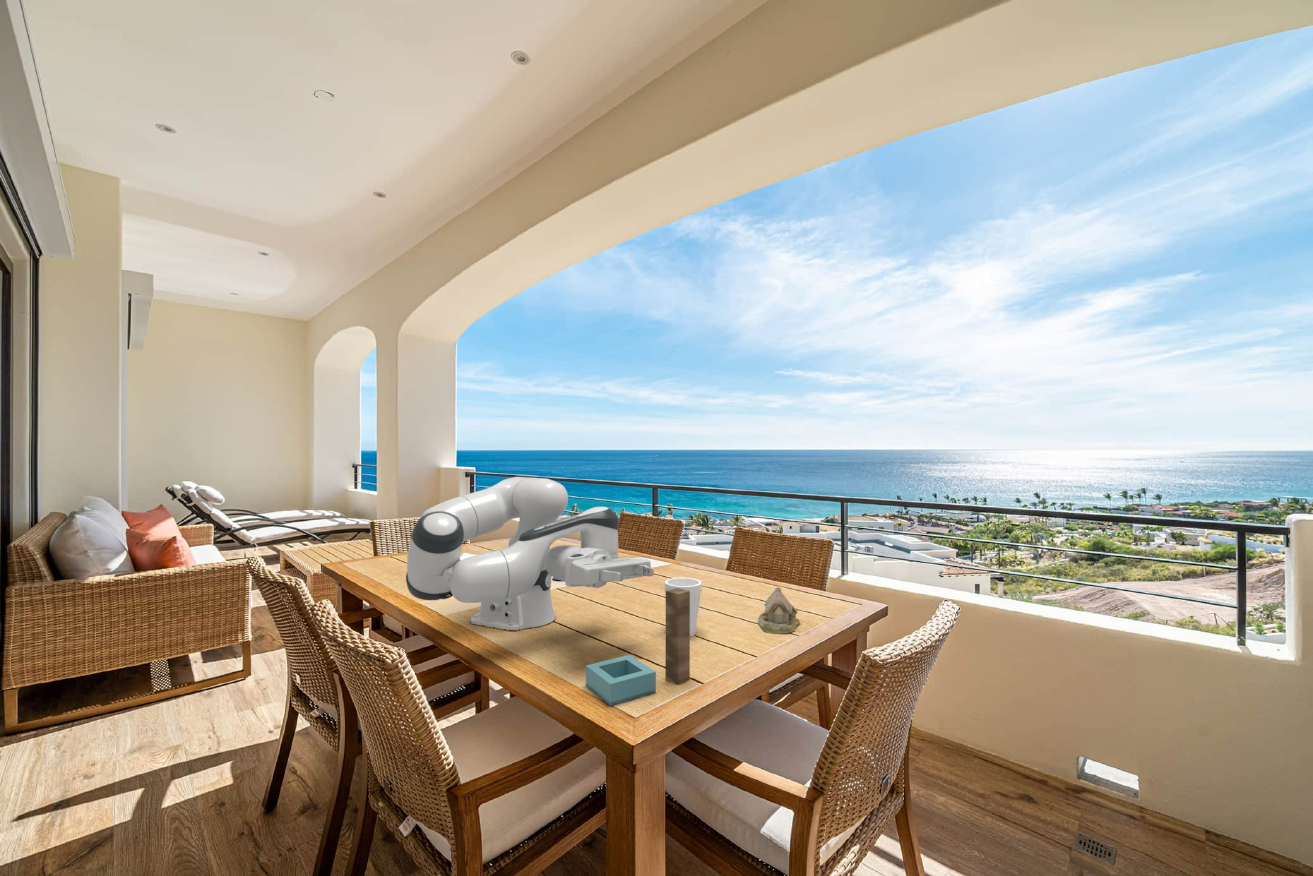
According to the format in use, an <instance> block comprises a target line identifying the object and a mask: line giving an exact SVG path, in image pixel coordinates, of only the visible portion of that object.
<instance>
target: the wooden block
mask: <svg viewBox="0 0 1313 876" xmlns="http://www.w3.org/2000/svg"><path fill="white" fill-rule="evenodd" d="M690 641H691V637H690V591H688V590H684V589H680V588H674V589H671V590H667V591H666V593H665V668H664V669H665V671H664V672H665V681H667V682H670V683H672V684H676V685H682V684H684V683H686V682H688V681H690V680H691V679H690V678H691V677H690V675H691V674H690V673H691V671H690V669H691V667H690V666H691V665H690V664H691V663H690V662H691V660H690V659H691V655H690V654H691V652H690V651H691V647H690V644H691V642H690Z"/></svg>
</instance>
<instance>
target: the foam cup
mask: <svg viewBox="0 0 1313 876" xmlns="http://www.w3.org/2000/svg"><path fill="white" fill-rule="evenodd" d="M702 587H703V586H702V581H701V580H699V579H696V578H693V577H673V578H669V579H666V580H665V581H664V593H665V594H666V591H667V590H671V589H674V588H680V589H684V590H688V591H690V638H691V637H694V636H696V633H697V632H696V631H697V626H698V624H697V623H698V618H699V616H698V615H699V610H700V602H701V593H702V591H703V590H702V589H703V588H702Z"/></svg>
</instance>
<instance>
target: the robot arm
mask: <svg viewBox="0 0 1313 876" xmlns="http://www.w3.org/2000/svg"><path fill="white" fill-rule="evenodd" d="M568 501H569V495H568V491H567V489H566V488H565V486H564V485H562V484H561V483H560V482H557V481H556V480H552V479H549V478H541V477H526V476H525V477H524V476H514V477H508V478H506V479H503V480H501V481H499V482H498V483H496V484H494V485H491V486H489V487H487V488H485V489H482V490H478V491H474V492H470V493H466V494H464V495H460V496H457V497H454V498H451V499H448V500H445V501H443V502H440V503H438V504H436V505H433V506H431V507H429V508H427V509H426V510H424V511H423V513H422V514H421V515H420V517H419V519H418V520H417V522H416V523H415V525H414V527H413V529H412V532H411V539H410V543H409V545H408V546H409V547H408V551H407V555H406V556H407V557H406V558H407V565H406V570H407V571H406V575H405V581H406V582H405V583H406V587H407V589H408V592H409V593H410V595H412V596H413V597H415V598H417V599H419V600H423V601H440V600H447V599H449V598H452V597H453V598H454V599H455V600H456V601H458V602H461V603H467V604H469V603H470V604H471V603H472V604H476V603H480V607H479V611H478V612H476V613H475V614H474V615H473V616H471V618H470V624H473V625H476V626H477V625H478V626H482V625H484V627H489V628H493V627H495V628H494V629H499V630H504V629H506V631H509V630H516V631H519V629H520V630H524V629H530V627H531V628H537V627H541V626H544V625H548V624H551V623H552V622H553V621H555V619H556V614H555V611H554V607H553V602H552V595H551V594H552V593H551V587H552V578H554V579H557V580H559V581H562V582H564V583H565V586H566V587H587V588H594V589H599V588H602V587H604V586H605V585H607V584H608V583H610V582H617V583H618V582H623V581H624V580H628V579H630V580H631V579H635V578H640V577H641V578H643V577H653V576H655V575H654V574H655V569H654V567H651V564H652V563H651V561H650V560H649V559H646V558H635V557H634V558H633V557H624V558H623V557H622V558H619V523H620V521H619V520H620V518H619V516H618V515H617V513H615V511H614V510H613V509H612V508H610V507H607V506H594V507H592V508H589V509H586V510H584V511H582V512H579V513H576V514H574V515H573V514H572V515H571V516H567V517H564V518H561V519H558V518H560V517H561V516H562V515H563V513H564V512H565V511H566V508H567V507H568V504H569V502H568ZM515 519H518V520H519V521H518V525H517V528H516V531H515V532H514V534H513V535H512V536H511V537H510V538H509V540H508V547H506V548H503V549H498V550H492V551H487V552H483V553H478V554H472V553H467V552H462V550H463V549H462V548H463V543H464V542H467V541H470V540H473V539H477V538H479V537H481V536H486V535H487V534H490V533H493V532H495V531H499V530H501V529H502V528H503V526H504V525H505V523H506V524H507V522H509V521H511V520H515ZM578 533H579V535H580V538H579V539H580V546H579V545H570V544H569V545H566V544H564V545H563V544H562V545H555V546H553V547H551V546H552V544H554V542H556V541H557V540H559V539H562V538H566V537H568V536H572V535H574V534H578ZM462 553H463V554H462Z"/></svg>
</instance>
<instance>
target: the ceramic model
mask: <svg viewBox="0 0 1313 876" xmlns="http://www.w3.org/2000/svg"><path fill="white" fill-rule="evenodd" d="M764 606H765V609H764V612H762V613H760V614H759V616H758V618H757V622H758V625H760V626H759V628H760V629H761V630H762V631H763V630H764V631H763V632H765V631H766V632H765V633H768V632H771V633H770V634H779V635H780V634H789V633H793V632H795V631H796V628H797V626H798V625H800V623H801V621H800V619H799V618H797V614H799V613H798V609H797V608H795V606H793V605H792V604H791V602H790V601H789V600H788V598H787V597H786V596H785V595H784V593H783V592H782V588H781V587H776V588H774V591H772V593H771V594H770V595H769V596H768V597H767V599H766V600H765V602H764Z"/></svg>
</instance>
